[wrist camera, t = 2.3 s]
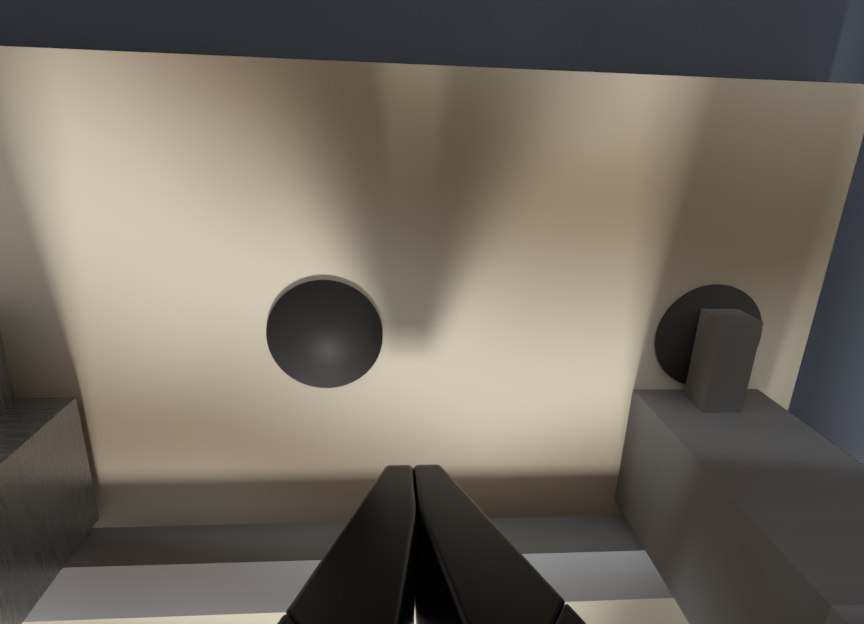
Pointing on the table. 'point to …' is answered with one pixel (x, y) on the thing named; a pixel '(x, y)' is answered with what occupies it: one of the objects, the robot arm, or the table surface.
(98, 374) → the board
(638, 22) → the table surface
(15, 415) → the slider
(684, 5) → the table surface
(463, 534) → the robot arm
